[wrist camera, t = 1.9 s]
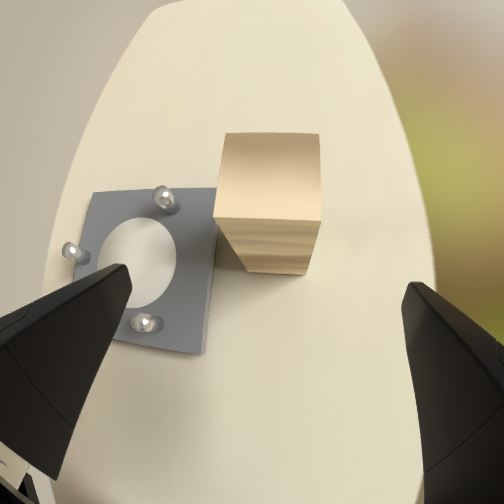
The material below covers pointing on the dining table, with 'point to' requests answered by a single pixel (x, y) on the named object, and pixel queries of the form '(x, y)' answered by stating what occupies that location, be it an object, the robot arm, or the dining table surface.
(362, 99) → the dining table surface
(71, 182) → the dining table surface
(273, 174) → the maple block
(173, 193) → the plate
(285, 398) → the dining table surface
